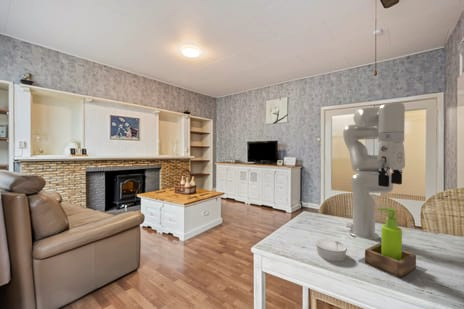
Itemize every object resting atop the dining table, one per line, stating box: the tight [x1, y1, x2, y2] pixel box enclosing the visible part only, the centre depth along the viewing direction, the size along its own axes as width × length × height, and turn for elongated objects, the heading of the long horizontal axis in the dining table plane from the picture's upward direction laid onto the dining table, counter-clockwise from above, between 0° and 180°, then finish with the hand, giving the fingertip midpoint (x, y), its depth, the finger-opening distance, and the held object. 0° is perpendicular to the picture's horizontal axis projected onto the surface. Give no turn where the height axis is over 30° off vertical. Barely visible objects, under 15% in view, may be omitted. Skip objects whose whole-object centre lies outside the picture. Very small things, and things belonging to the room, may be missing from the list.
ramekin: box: [315, 238, 348, 262], centre depth 85 cm, size 11×11×5 cm
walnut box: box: [364, 242, 417, 279], centre depth 77 cm, size 11×11×5 cm
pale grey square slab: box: [357, 256, 428, 284], centre depth 77 cm, size 16×15×1 cm
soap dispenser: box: [378, 207, 403, 261], centre depth 77 cm, size 6×7×20 cm
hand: (390, 185), depth 77 cm, fingers open, 9 cm apart
